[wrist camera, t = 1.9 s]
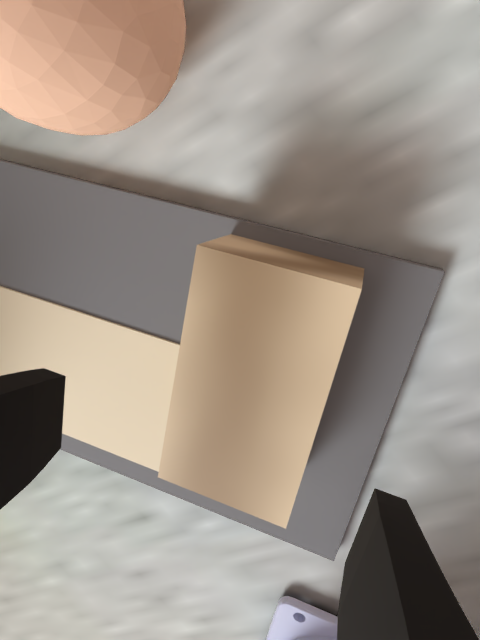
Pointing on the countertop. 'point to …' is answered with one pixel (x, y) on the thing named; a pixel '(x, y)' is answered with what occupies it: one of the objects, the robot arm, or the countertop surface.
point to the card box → (255, 371)
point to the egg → (88, 61)
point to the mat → (166, 330)
